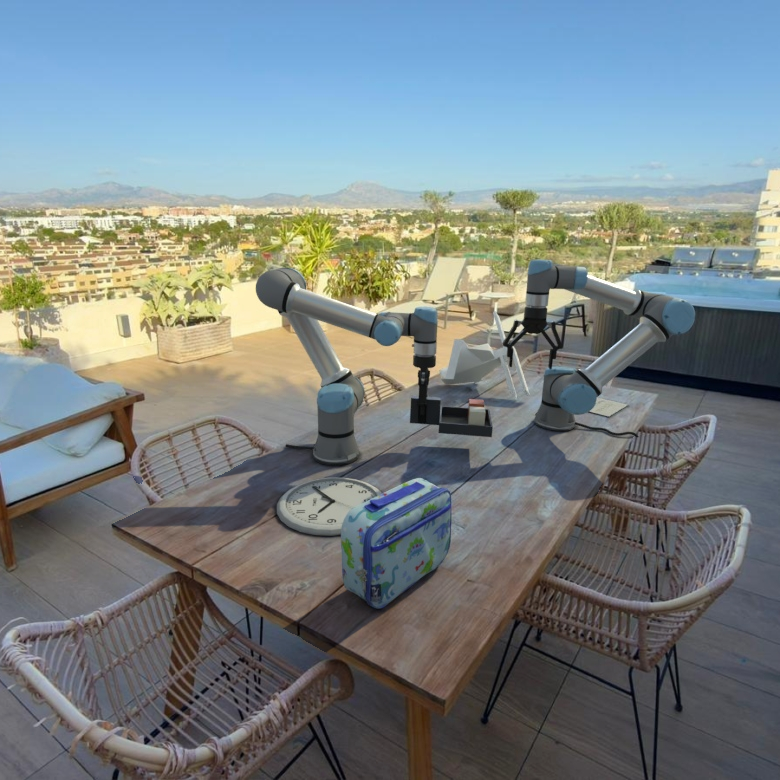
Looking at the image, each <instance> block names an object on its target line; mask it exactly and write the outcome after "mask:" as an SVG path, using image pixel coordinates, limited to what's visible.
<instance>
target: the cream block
mask: <svg viewBox="0 0 780 780" xmlns="http://www.w3.org/2000/svg"><path fill="white" fill-rule="evenodd" d="M485 409H486V407H485V406H484V407H472V406H470V408H469V419H468V425H481V426H484V424H485V413H486V412H485Z"/></svg>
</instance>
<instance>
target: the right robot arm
mask: <svg viewBox="0 0 780 780" xmlns="http://www.w3.org/2000/svg"><path fill="white" fill-rule="evenodd" d="M527 269H528V270H527V279H526V291H525V300H524V305H525V307H524V310H523V319H522V320H518V319H517V318H515V319H514V320H513V324H512V326H511V328H510V329H509V331H508V333H507V335H505V337H506V338H505V339H504V341H503V343H502V342H501V345H502V344H503V345H502V347H503V346H504V347H507V357H510V359H509V360H508V367H509V368H512V367H513V361H514V360H513V346H514V347H515V345H516V344H517V343H518V342H519V341H520V340H521V339H522V338H523V337H524V336H526V335H527V334H529V335H540V334H542V336H543V337H544V339H545V340H546V341H547V343H548V344H549V345H550V346H551V348H550V349H549V357H548V366H547V367H546V368H545V370H544V373H543V381H542V382H543V383H542V394H541V402H540V405H539V407H538V410H537V411H536V413H535V414H534V416H535V417H534V424H535V425H536V426H537V427H539V428H542V429H544V430H549V431H556V432H567V431H572V430H574V429H575V428H576V426H579V427H582V428H585V429H587V430H592V431H602V432H606V433H608V434H609V435H612V436H616V437H617V436H618V437H619V436H625V435H626V436H627V435H632V436H634V437H635V438H640V436H639V435H638V434H637V433H635V432H633V431H624V432H613V431H612V430H610V429H607V428H606V427H605V428H604V427H597V426H596V427H594V426H590V425H587V424H584V423H580V422H577V421H576V418H575V417H576V416H580V415H581V416H582V415H584V414H587V413H590V412H589V411H590V410H591V409H592V408H593V407H594V406H595V404H596V400H597V398H599V397H600V396H601V395H602V394H603V387H605V386H606V385H607V384H608V383H609V382H611V381H612V380H613V379H615V377H617V376H618V375H619V374H620V373H622V372H623V371H624V370H626V368H628V367H629V366H630V365H631V364H632V363H634V362H635V361H636V360H637V359H638V358H640V357H641V356H642V355H644V354H645V353H646V352H647V351H649V349H651V348H652V347H653V346H654V345H656V344H657V343H665V342H666V341H668V340H669V339H670V338H671V337H672V336H679V335H684V334H686V333H687V332H688V331H689V330H690V329H691V328H692V326H693V325H694V324H695V319H696V318H695V317H696V311H695V308H694V306H693V305H692V303H691V302H690V301H688V300H686V299H683V298H681V297H674V296H669V295H666V294H661V293H653V292H648V291H643V290H640V289H638V288H635V289H633V290H632V289H630V288H626V287H624V286H620V285H618V284H616V283H612V282H609V281H607V280H604V279H601V278H598V277H596V276H593V275H590V274H588V269H587V268H586V267H585V266H578V265H576V266H575V265H573V266H572V265H565V264H560V263H556V262H553V260H551V259H532V260H530V261H529V263H528V268H527ZM550 290H565V291H567V292H571V293H574V294H576V295H578V296H579V295H580V296H582V297H585V298H587V299H590V300H593V301H596V302H599V303H602V304H604V305H606V306H607V305H608V306H610V307H612V308H614V309H615V308H616V309H619V310H621V311H623V313H624V315H627V316H629V317H632V318H634V319H636V320H638V321H639V323H638V325H636V326H635V327H634V328H632V330H631V331H629V332H628V333H627V334H626V335H624V336H623V337H622V338H620V340H618V341H617V342H616V343H615V344H614V345H612V347H610V348H609V349H607V350H606V351H605V352H604V353H603V354H602V355H600V356H599V357H598V358H597V359H595V361H593V362H592V363H591V364H590V365H589V366H587V367H586V368H578V369H576V368H575V367H570V366H553V360H556V359H557V355H558V354H557V352H558V350H562V349H563V348H564V345H563V343H562V341H561V337H560V336H559V333H558V330H557V325H556V324H557V323H556V321H554V320H551V321H547V316H548V308H547V307H548V306H549V298H550ZM521 325H522V327H523V328H522V329H521V330H520V331H519V332H518V333H517V334H516V335H515V336H514V334H515V332H516V331H517V329H518V328H519V327H520V326H521ZM547 326H548V328H550V329H551V333H552V335H553V337H554V339H555V341H556V344H555V343H554V342H553V340H552V339H551V337H550V336H549V335H548V333H547V332H546V330H545V329H546V328H547ZM513 336H514V338H512V337H513ZM511 339H512V340H511Z"/></svg>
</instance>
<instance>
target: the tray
mask: <svg viewBox="0 0 780 780" xmlns="http://www.w3.org/2000/svg"><path fill="white" fill-rule="evenodd" d="M417 403H419V395H411V397H410V413H409V424H416V425H424V424H423V423H418V406H419V405H417ZM426 403H427V409H426V424H425V425H428V426H429V425H430V426H438V431H437V432H438V434H445V435H458V436H471V437H472V436H473V437H482V438H483V437H485V438H492V437H493V427H494V426H493V421H492V417H491V411H490V410H491V409H489V408H485V412H486V413H485V424H484V426H481V425H468V407H463V406H449V405H441V404H442V397H439V396H438V397H437V396H427V397H426Z"/></svg>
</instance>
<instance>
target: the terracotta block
mask: <svg viewBox="0 0 780 780" xmlns="http://www.w3.org/2000/svg"><path fill="white" fill-rule="evenodd" d="M470 406H472V407H485V401H484V399H474V398H469V399H468V407H467V408H468V419H469V408H470Z"/></svg>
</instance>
